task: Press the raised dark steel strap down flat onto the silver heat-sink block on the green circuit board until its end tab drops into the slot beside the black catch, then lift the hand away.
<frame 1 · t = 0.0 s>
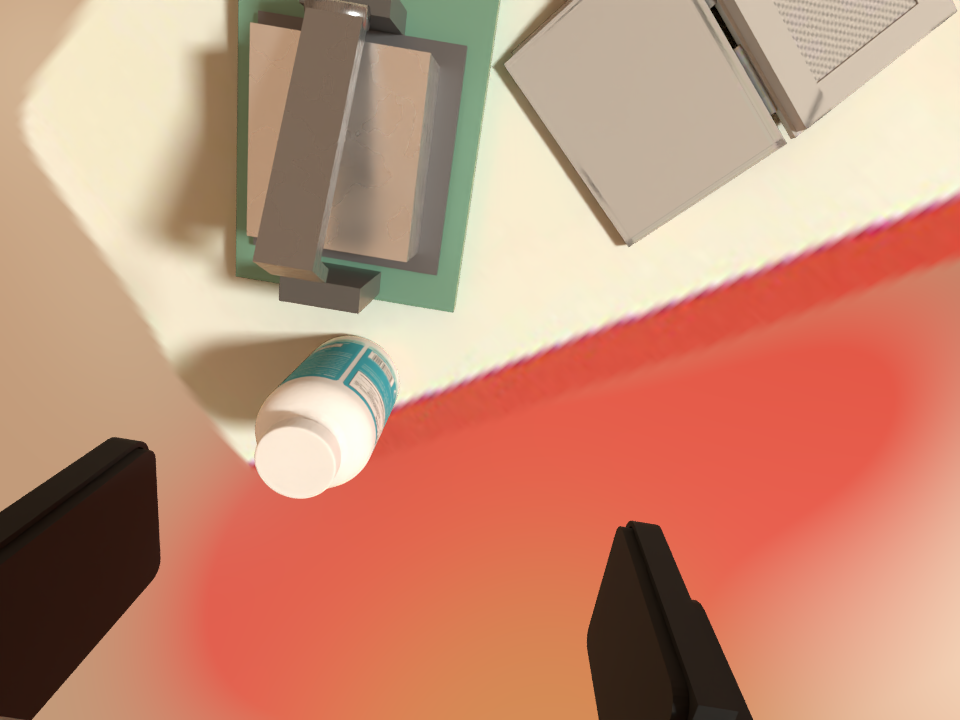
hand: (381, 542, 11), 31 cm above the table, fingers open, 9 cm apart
pill bottle: (356, 376, 44), on the table
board: (362, 134, 38), on the table
strap: (317, 139, 29), point 9 cm above the table, hinge at 25.0°
gadget: (712, 43, 36), on the table
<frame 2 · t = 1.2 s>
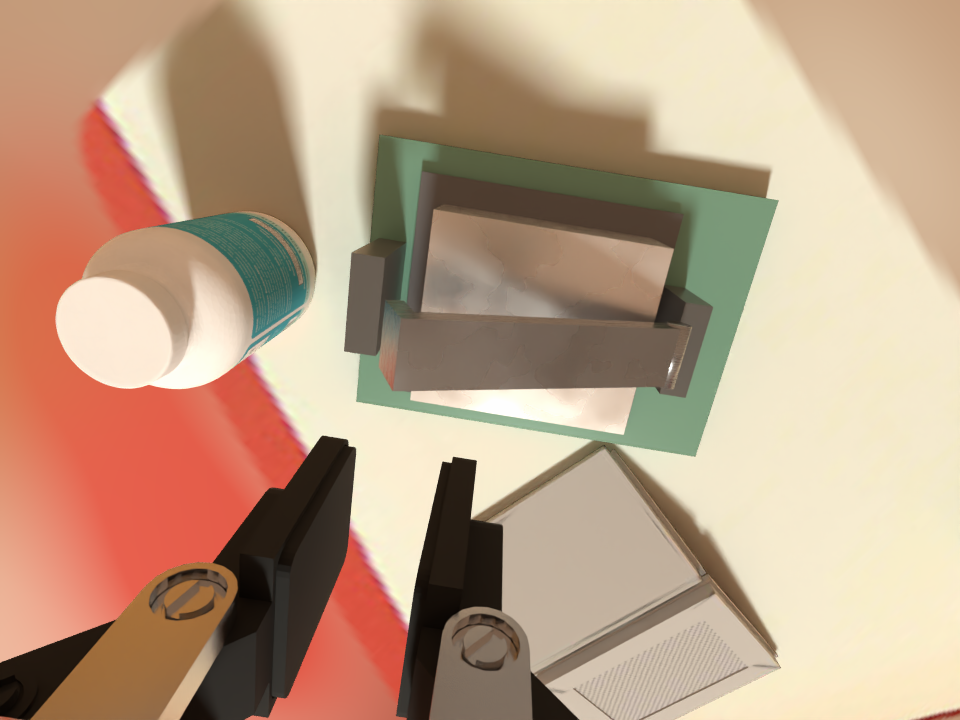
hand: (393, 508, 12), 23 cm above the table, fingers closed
pill bottle: (261, 271, 34), on the table
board: (548, 303, 34), on the table
strap: (546, 347, 25), point 9 cm above the table, hinge at 25.0°
gadget: (607, 596, 42), on the table
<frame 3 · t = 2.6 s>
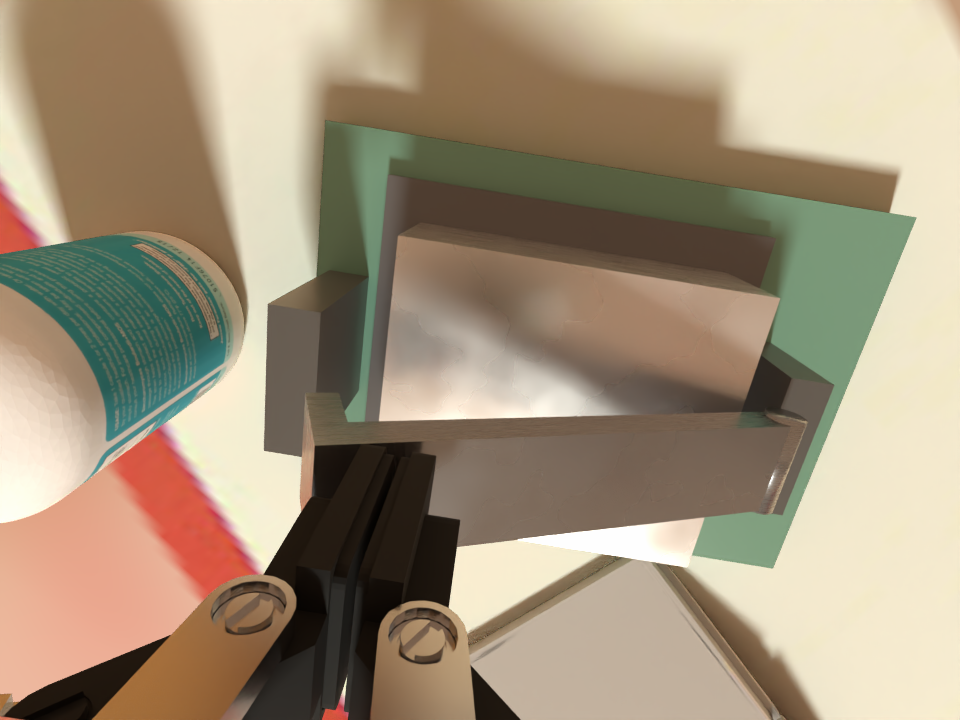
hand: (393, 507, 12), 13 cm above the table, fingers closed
pill bottle: (172, 312, 25), on the table
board: (571, 358, 24), on the table
strap: (576, 459, 16), point 9 cm above the table, hinge at 23.7°, touching gripper
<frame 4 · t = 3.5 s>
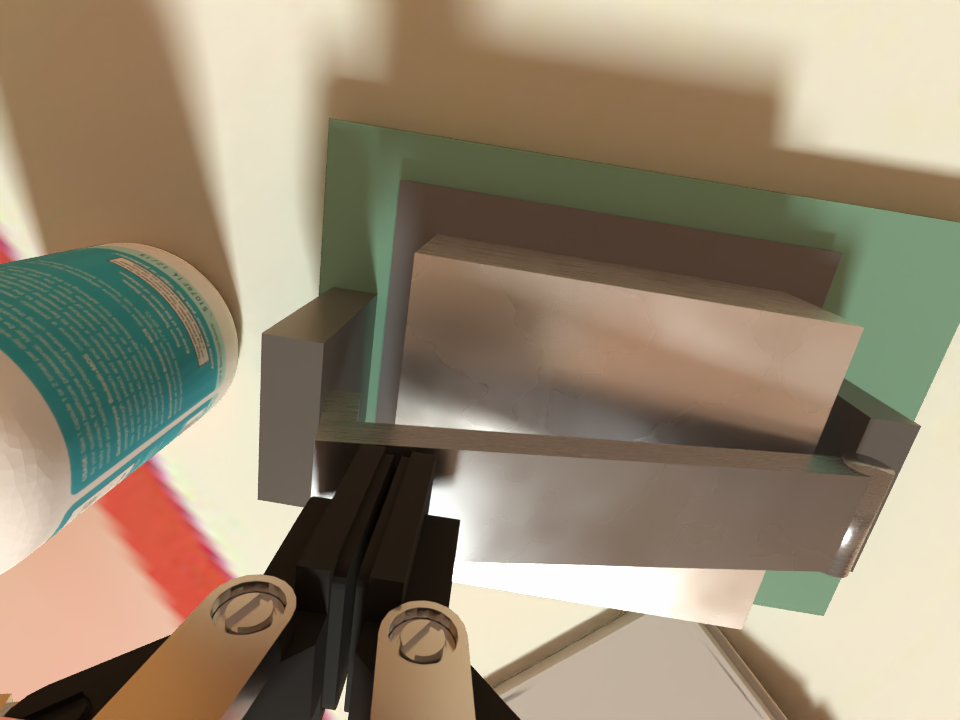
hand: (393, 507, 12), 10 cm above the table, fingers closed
pill bottle: (159, 332, 22), on the table
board: (602, 384, 22), on the table
strap: (605, 486, 14), point 8 cm above the table, hinge at 11.6°, touching gripper
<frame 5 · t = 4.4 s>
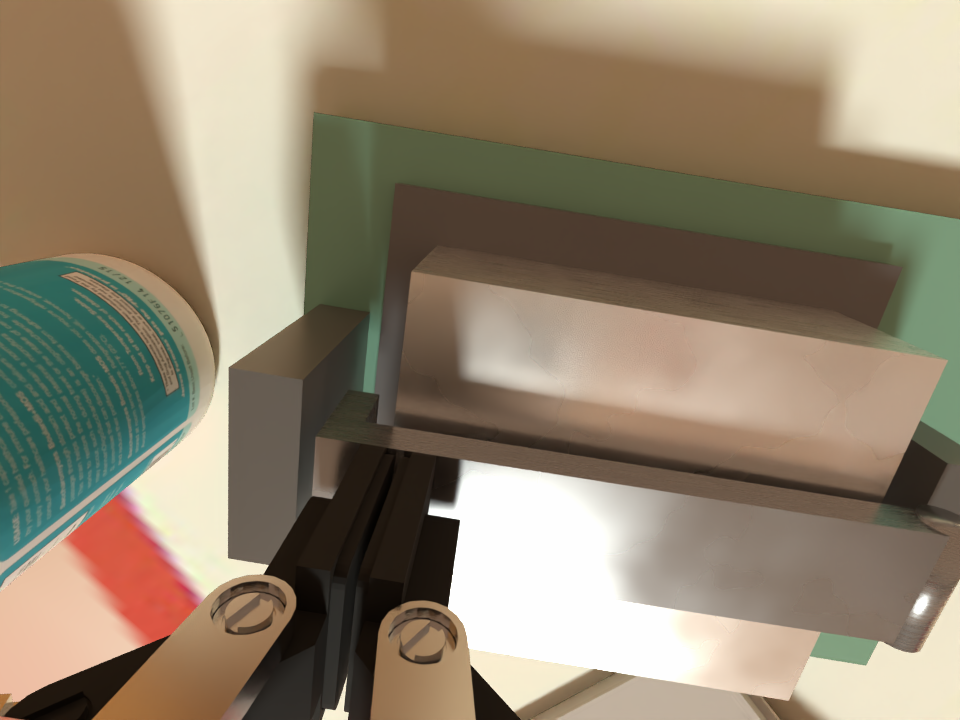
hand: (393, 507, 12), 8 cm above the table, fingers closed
pill bottle: (127, 351, 20), on the table
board: (621, 410, 19), on the table
strap: (627, 514, 13), point 7 cm above the table, hinge at 0.9°, touching gripper
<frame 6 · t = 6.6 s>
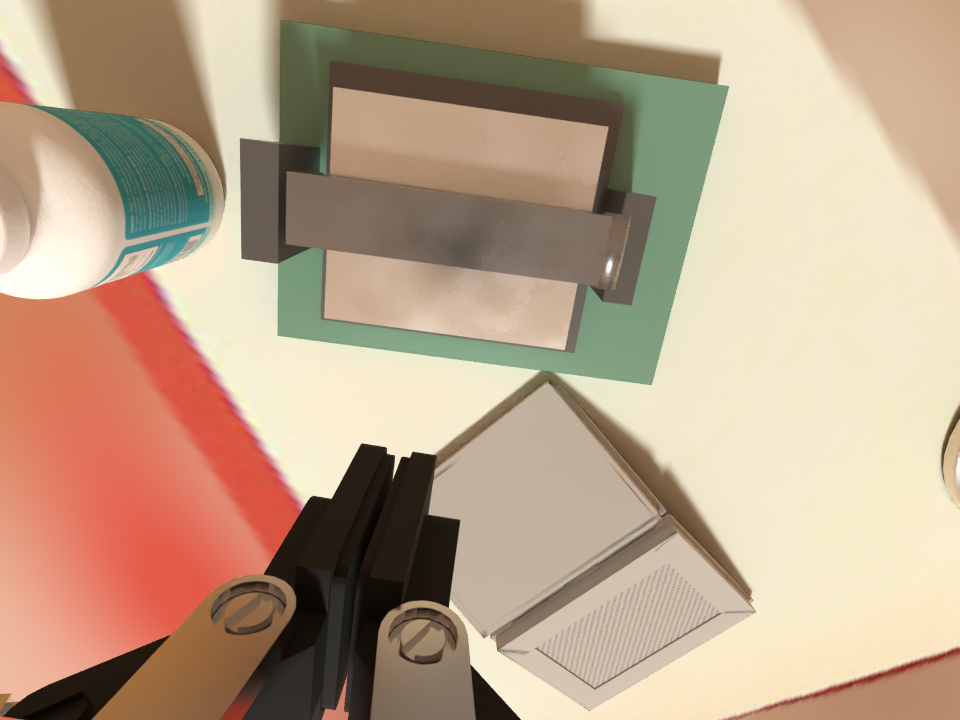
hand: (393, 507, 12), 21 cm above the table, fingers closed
pill bottle: (165, 191, 31), on the table
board: (485, 218, 31), on the table
strap: (459, 228, 25), point 7 cm above the table, hinge at 0.8°
gadget: (568, 548, 39), on the table
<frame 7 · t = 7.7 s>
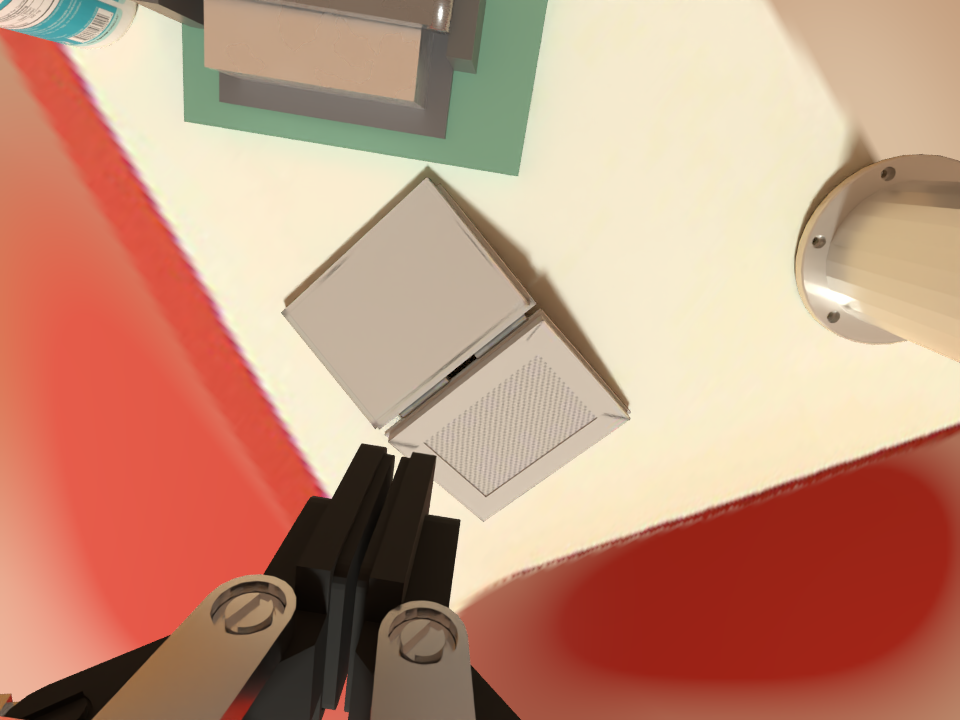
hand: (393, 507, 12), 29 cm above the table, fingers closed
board: (367, 15, 35), on the table
gadget: (460, 359, 43), on the table
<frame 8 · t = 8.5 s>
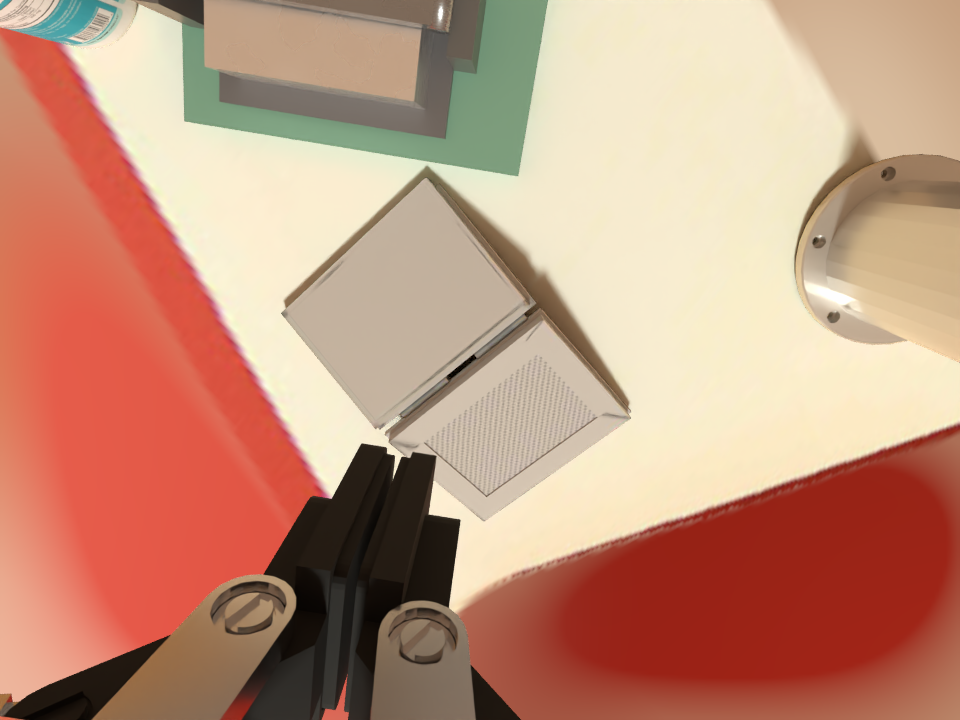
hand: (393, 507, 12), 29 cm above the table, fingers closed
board: (367, 14, 35), on the table
gadget: (460, 359, 43), on the table
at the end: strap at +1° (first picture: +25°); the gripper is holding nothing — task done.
